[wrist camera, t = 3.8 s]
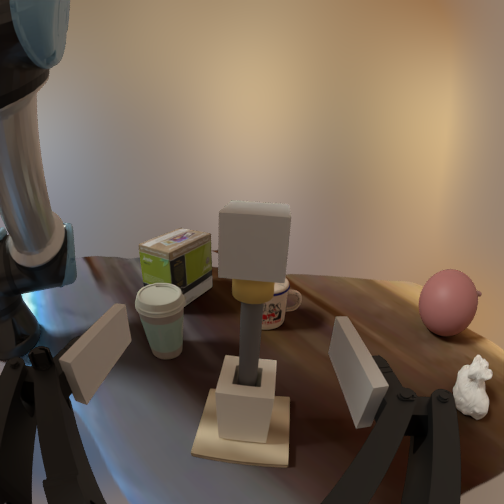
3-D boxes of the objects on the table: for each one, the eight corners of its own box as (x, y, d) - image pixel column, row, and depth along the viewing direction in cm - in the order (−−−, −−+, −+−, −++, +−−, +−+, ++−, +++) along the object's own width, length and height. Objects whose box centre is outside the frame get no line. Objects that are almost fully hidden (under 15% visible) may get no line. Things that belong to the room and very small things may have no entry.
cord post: (261, 441, 29) (291, 217, 18) (223, 436, 29) (218, 212, 19) (264, 413, 33) (289, 204, 23) (229, 409, 34) (231, 200, 24)
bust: (446, 390, 37) (439, 357, 35) (478, 370, 34) (475, 334, 32) (463, 435, 26) (462, 408, 23) (499, 413, 23) (504, 381, 21)
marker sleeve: (265, 443, 28) (274, 398, 24) (218, 437, 28) (215, 392, 25) (268, 408, 34) (276, 360, 30) (226, 404, 34) (225, 355, 30)
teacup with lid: (241, 330, 54) (243, 278, 49) (244, 306, 62) (246, 259, 58) (300, 332, 53) (309, 282, 49) (296, 309, 62) (302, 262, 58)
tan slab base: (286, 467, 25) (288, 464, 25) (191, 455, 26) (190, 452, 26) (288, 400, 37) (289, 397, 36) (210, 392, 38) (210, 388, 37)
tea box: (183, 278, 74) (181, 226, 68) (213, 288, 70) (213, 232, 64) (144, 300, 61) (137, 242, 56) (175, 315, 57) (169, 251, 52)
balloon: (483, 343, 44) (507, 287, 39) (427, 353, 45) (454, 288, 39) (455, 311, 59) (472, 261, 53) (401, 314, 59) (418, 257, 54)
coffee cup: (197, 356, 45) (192, 299, 41) (152, 370, 41) (139, 312, 36) (180, 331, 52) (175, 277, 47) (140, 341, 47) (129, 286, 43)
